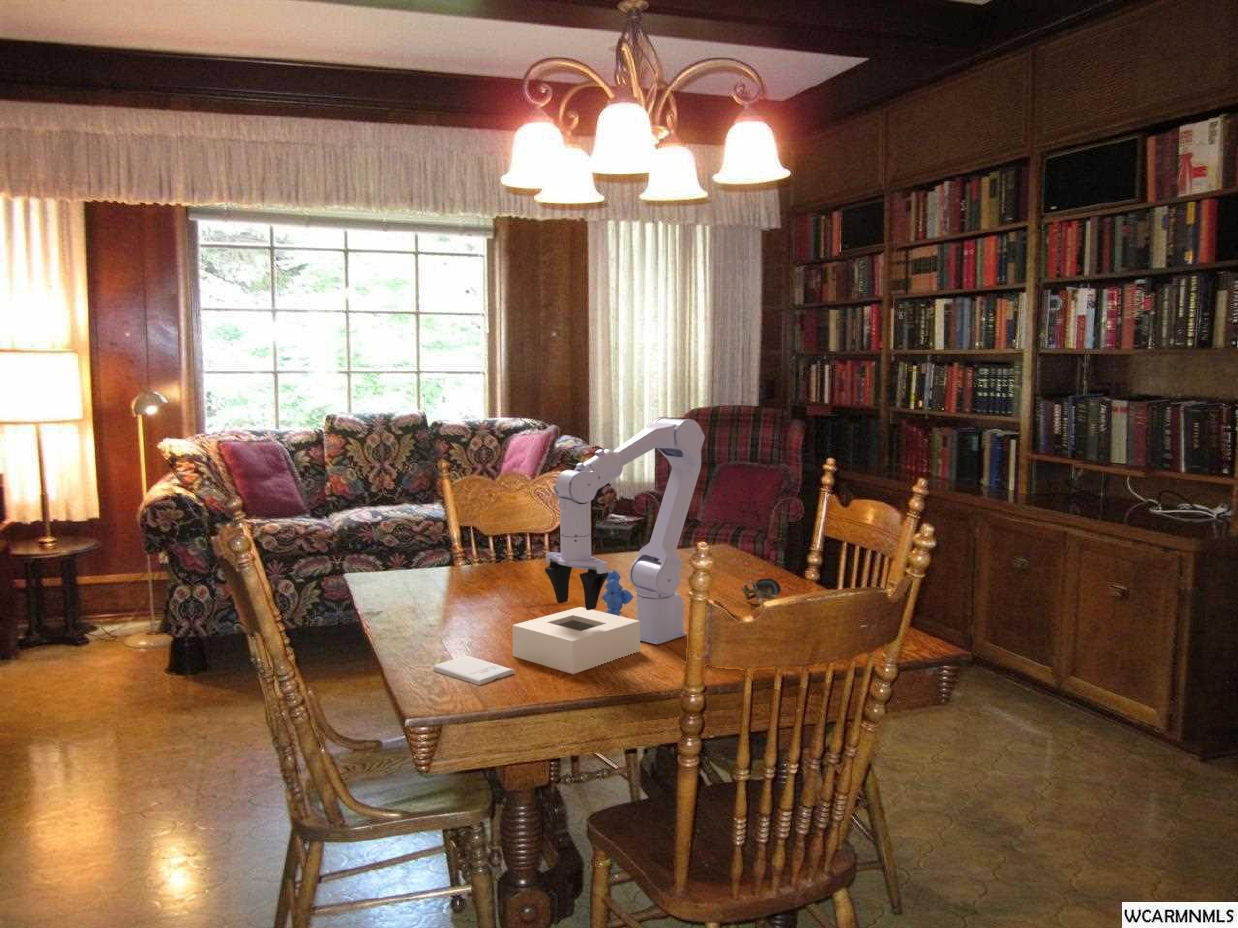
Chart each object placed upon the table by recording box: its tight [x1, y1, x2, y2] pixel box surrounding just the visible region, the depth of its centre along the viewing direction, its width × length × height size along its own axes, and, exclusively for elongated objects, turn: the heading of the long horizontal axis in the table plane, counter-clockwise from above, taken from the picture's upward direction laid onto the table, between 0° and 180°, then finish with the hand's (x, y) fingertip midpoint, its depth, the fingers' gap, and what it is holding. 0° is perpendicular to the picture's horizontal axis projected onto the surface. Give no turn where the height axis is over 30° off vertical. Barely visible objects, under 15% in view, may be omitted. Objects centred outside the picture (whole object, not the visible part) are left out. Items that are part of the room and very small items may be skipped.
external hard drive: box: [432, 655, 515, 686], centre depth 177 cm, size 2×8×12 cm
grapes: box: [601, 569, 634, 616], centre depth 207 cm, size 12×7×12 cm, turn 0°
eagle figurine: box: [740, 577, 782, 605], centre depth 224 cm, size 8×7×9 cm
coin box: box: [511, 606, 641, 675], centre depth 187 cm, size 18×16×6 cm
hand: (576, 605), depth 187 cm, fingers open, 7 cm apart
